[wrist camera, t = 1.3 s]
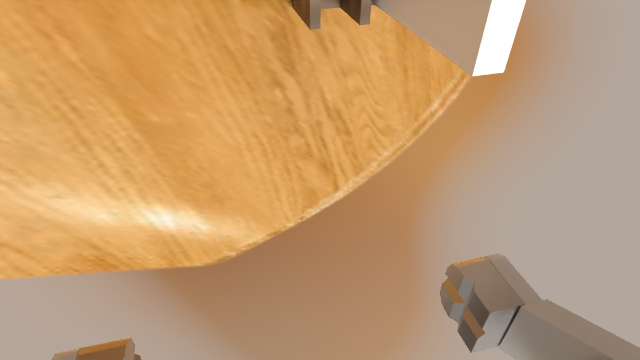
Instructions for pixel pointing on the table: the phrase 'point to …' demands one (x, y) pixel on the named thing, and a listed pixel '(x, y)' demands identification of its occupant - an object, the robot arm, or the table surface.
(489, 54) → the white board
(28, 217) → the table surface
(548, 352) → the robot arm
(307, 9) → the walnut rack
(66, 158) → the table surface
